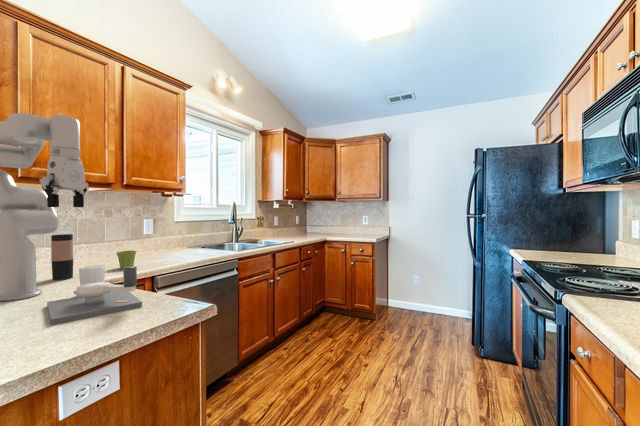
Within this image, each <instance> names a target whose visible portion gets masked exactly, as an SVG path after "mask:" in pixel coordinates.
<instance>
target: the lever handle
mask: <svg viewBox="0 0 640 426" xmlns="http://www.w3.org/2000/svg"><path fill="white" fill-rule="evenodd" d="M137 270H138V269H137V266H136V265H134V266H129V267H124V268H123V269H122V271H123V272H122V274H123V275H122V276H123V278H122V279H123V284H112V283H111V282H107V281H106V282H105V281H104V282H98V283H90V284H85V285H81V286H80V285H78V286H77V287H76V288H75V290H73V295H76V297H94V296H100V295H104V294H107V293H110V292H111V291H129V292H133V291H136V289H137V285H138V283H137V281H138V279H137V278H138V277H137V275H138V274H137Z"/></svg>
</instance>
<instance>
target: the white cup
mask: <svg viewBox="0 0 640 426" xmlns="http://www.w3.org/2000/svg"><path fill="white" fill-rule="evenodd" d="M78 274H79V277H78V278H79V284H80V285H79V286H81V285H85V284H90V283H98V282H105V280H106V279H105V277H106V276H105V275H106V265H105V264H92V265H85V266H80V267H79V268H78Z"/></svg>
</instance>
